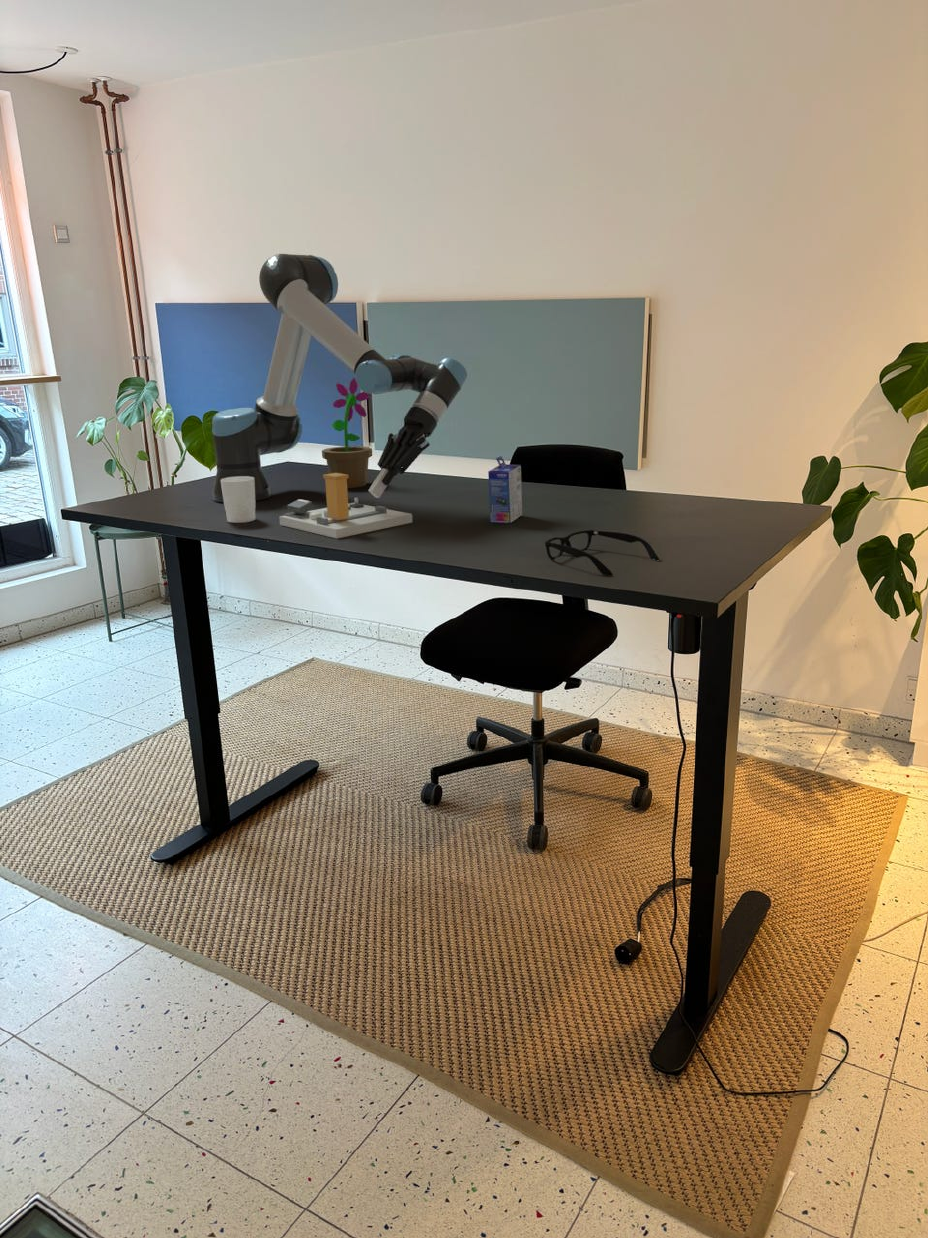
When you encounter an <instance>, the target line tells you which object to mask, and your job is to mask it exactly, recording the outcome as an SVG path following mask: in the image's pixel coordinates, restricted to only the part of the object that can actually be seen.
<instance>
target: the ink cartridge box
mask: <svg viewBox="0 0 928 1238" xmlns="http://www.w3.org/2000/svg"><path fill="white" fill-rule="evenodd" d="M495 458H496V459H495V460H496V461H497V463H498V465H497V466H495V467H494V468H493V469H489V470H488V473H487V474H488V501H489V515H490V517H489V518H490V523H499V524H512V523H513V522H514V521H516V520H518V518H519V517H521V516H523V501H522V500H523V498H522V497H523V496H522V467H521V466H522V465H521V464H507V463H506V462H505V460H504V459H503V456H498V457H495ZM501 461H502V462H501Z"/></svg>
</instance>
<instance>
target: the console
mask: <svg viewBox="0 0 928 1238" xmlns="http://www.w3.org/2000/svg"><path fill="white" fill-rule="evenodd" d="M348 508H349V518H347V519H342V520H336V519H331V518H328V514H327V507H322V508H318V509H313V510H307V511H305V512H303V513H297V512H293V511H289V512H287V513H283V515H279V526H282V527H283V526H284V527H288V528H291V529H295V530H300V531H304V532H307V533H313V534H317V535H321V536H325V537H328V538H333V539H340V538H347V537H350V536H355V535H360V534H364V533H370V532H374V531H378V530H383V529H388V528H392V527H398V526H403V525H407V524H412V523H413V513H409V512H404V511H398V510H393V509H389V508H387V507H386V506H381V505H375V506H372V505H368V504H363V503H359V498H358V497H354V502H350V503H348Z"/></svg>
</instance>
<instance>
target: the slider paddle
mask: <svg viewBox="0 0 928 1238" xmlns="http://www.w3.org/2000/svg"><path fill="white" fill-rule="evenodd" d="M322 478H323V479H324V482H325V498H326V499H325V500H326V508H327V514H328V518H331V519H336V520H342V519H347V518H349V508H348V504H349V496H348V495H349V493H348V488H347V478H349V477H348V475H347V474H341V473H331V474H329V473H327V474H326V473H325V474H323V475H322Z"/></svg>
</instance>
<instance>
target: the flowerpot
mask: <svg viewBox="0 0 928 1238" xmlns="http://www.w3.org/2000/svg"><path fill="white" fill-rule="evenodd" d="M335 386H336V390H337V392H338V393H339V394H340V395H341V396H343V397H345V399H344V398H339V399H336V400H335V401H334V402H333V403H332V405H333V407H334V408H337V409H340V408H343V407H345V409H344V410H345V411H344V420H341V419H337V420H334V422H332V426H331V427H332V428H333V429H334V430H335V431H337V432H341V431H343V432H344V433H343V434H344V435H343V436H344V446H334V447H327V448H323V449H322V450H321V457H322V459H324V460H326V465H327V470H328V474H331V473H341V474H347V475H348V477H349V478H347V489H351V488H352V489H353V488H354V489H355V488H361V487H365V486H366V484H368V475H369V474H368V473H369V459H370V458H371V457H372V456H373V448H371V447H368V446H358V445H357V446H353V445H352V446H349V442H356V441H359V440H360V439H361V438H360V436H359V435H357V434H353V433H349V432H348V425H349V424H348V422H351V419H352V418H353V416H354V411H355V412H356V413H357V414H358V415H359V416H361V417H363V418H365V417H366V416H367V412H366V409H365V408H364V407H363V406H362V404H360V403H357V401H359V402H363V401H366V400H368V399H369V397H371V394H367V393H365V392H363V391H361V392H358V393H357V391H358V388H359V387H358V385H357V382H356V380H355V377H353V378H352V379H351V380H350V382H349V386H348V388H346V385H344V384H342V383H340V382H337V383H336V385H335ZM348 390H349V391H348ZM356 393H357V394H356ZM355 394H356V395H355ZM353 407H354V409H353Z"/></svg>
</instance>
